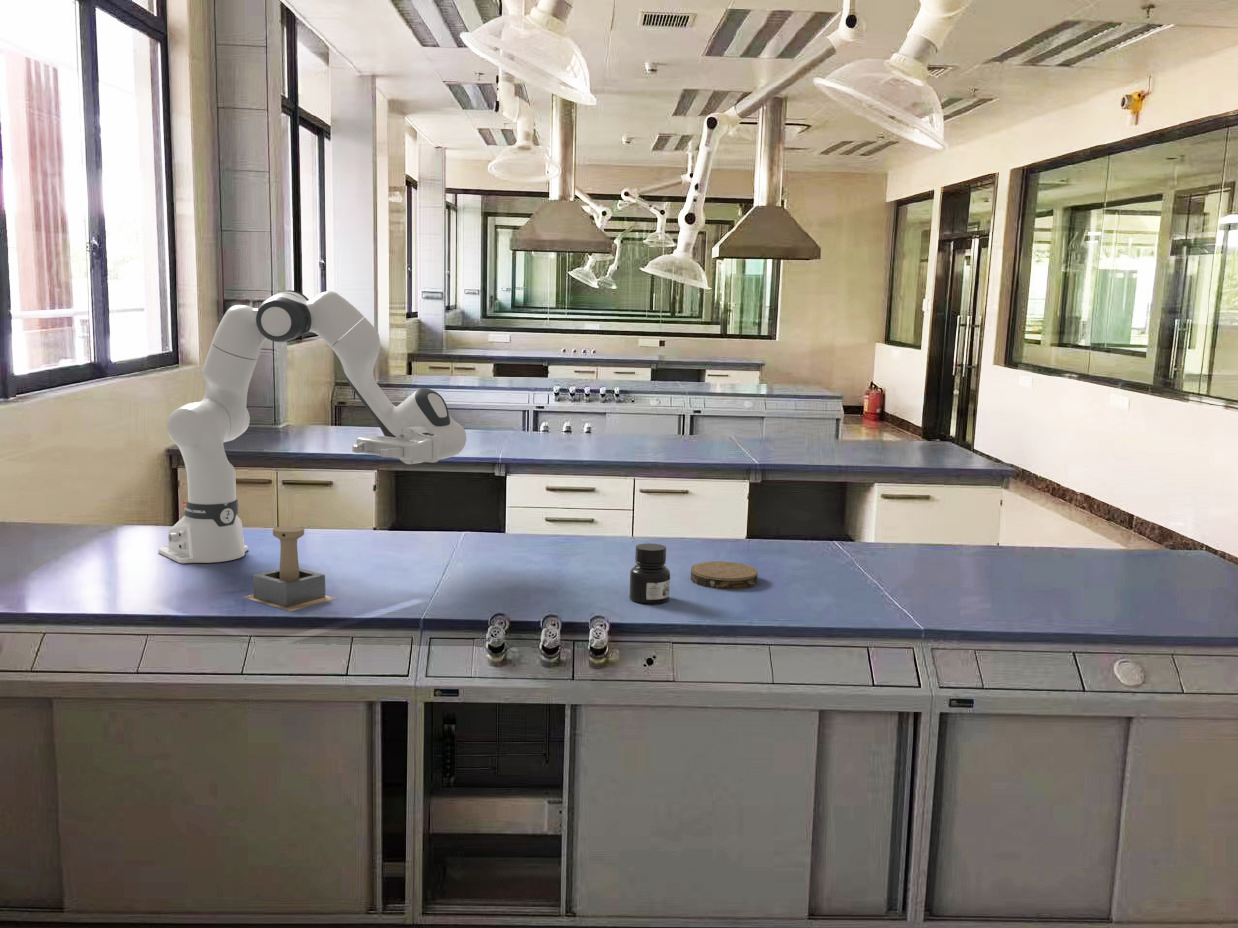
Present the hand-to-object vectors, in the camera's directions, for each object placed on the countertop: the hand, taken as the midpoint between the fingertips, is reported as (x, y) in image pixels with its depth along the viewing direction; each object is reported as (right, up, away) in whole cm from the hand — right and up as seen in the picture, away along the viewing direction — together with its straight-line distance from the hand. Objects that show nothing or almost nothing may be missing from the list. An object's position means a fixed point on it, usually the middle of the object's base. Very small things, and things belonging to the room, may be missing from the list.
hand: (368, 451), depth 240 cm
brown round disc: (+83, -31, +11) cm, 89 cm away
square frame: (-13, -31, -16) cm, 38 cm away
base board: (-13, -32, -16) cm, 39 cm away
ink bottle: (+64, -33, -6) cm, 73 cm away
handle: (-13, -32, -16) cm, 38 cm away
